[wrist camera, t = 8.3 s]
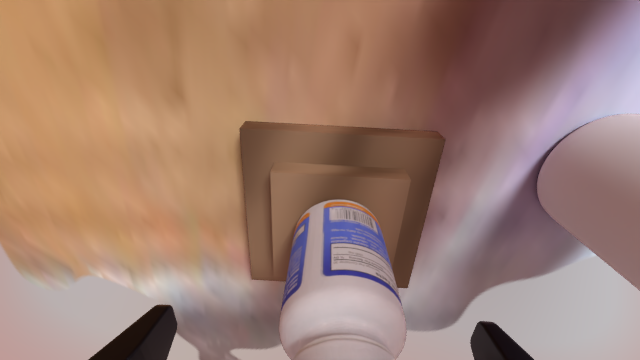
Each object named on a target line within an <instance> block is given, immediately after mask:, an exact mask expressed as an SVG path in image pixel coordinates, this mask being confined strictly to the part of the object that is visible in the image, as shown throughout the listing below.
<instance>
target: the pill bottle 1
mask: <svg viewBox="0 0 640 360" xmlns="http://www.w3.org/2000/svg"><path fill="white" fill-rule="evenodd" d="M279 334H280V339H281V343H282V346H283V348H284V350H285V352H286V353H287V355H288V356H289V357H290V359H291V360H396V358H397V357H398V356H399V354H400V353H401V351H402V349H403V347H404V344H405V340H406V320H405V316H404V312H403V308H402V304H401V300H400V297H399V293H398V289H397V285H396V282H395V278H394V274H393V271H392V267H391V263H390V260H389V256H388V252H387V249H386V245H385V241H384V238H383V234H382V231H381V227H380V225H379V223H378V221H377V219H376V217H375V216H374V215H373V214H372V212H371V211H370V210H368V209H367V208H366V207H364V206H363V205H361V204H359V203H356V202H353V201H349V200H338V199H337V200H329V201H324V202H321V203H319V204H316V205H314V206H313V207H311V208H309V209H308V210H307V211H306V212H305V213H304V214H303V215H302V216H301V218H300V219H299V221H298V223H297V225H296V229H295V232H294V237H293V243H292V249H291V255H290V261H289V267H288V273H287V279H286V284H285V290H284V296H283V302H282V308H281V315H280V323H279Z"/></svg>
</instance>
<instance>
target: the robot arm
mask: <svg viewBox="0 0 640 360" xmlns="http://www.w3.org/2000/svg"><path fill="white" fill-rule="evenodd" d="M176 330H177V321H176V318H175V314H174V311H173V308H172V306H170V305H156V306H154V307H153V308H152V309H150V310H149V311H148V312H147V313H146V314H144V315H143V316H142V317H141V318H139V319H138V320H137V321H136V322H134V323H133V324H132V325H131V326H130V327H128V328H127V329H126V330H125V331H123V332H122V333H121V334H120V335H119V336H117V337H116V338H115V339H113V341H111V342H110V343H109V344H107V345H106V346H105V347H104V348H103V349H101V350H100V351H99V352H97V353H96V354H95V355H94V356H92V357H91V358H90V359H89V360H166V359H167V357H168V354H169V351H170V348H171V345H172V342H173V339H174V336H175V333H176ZM471 349H472V352H473V356H474V360H534V359H533V358H532V357H531V356H530V355H529V354H528V353H527V352H526V351H524V350H523V349H522V348H521V347H520V346H519V345H518V344H517V343H516V342H515V341H514V340H513V339H512V338H511V337H510V336H508V335H507V334H506V333H505V332H504V331H503V330H502V329H501V328H500V327H499V326H498V325H496V324H495V323H493V322H485V321H480V322H478V323H477V325H476V327H475V330H474V332H473V335H472V337H471Z"/></svg>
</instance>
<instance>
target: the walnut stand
mask: <svg viewBox="0 0 640 360" xmlns="http://www.w3.org/2000/svg"><path fill="white" fill-rule="evenodd" d="M240 140H241V153H242V165H243V178H244V190H245V203H246V215H247V227H248V240H249V252H250V265H251V277H252V279H254V280H271V281H286V279H287V273H288V267H289V261H290V255H291V249H292V243H293V237H294V232H295V229H296V225H297V223H298V221H299V219H300V218H301V216H302V215H303V214H304V213H305V212H306V211H307V210H308V209H309V208H311V207H313V206H314V205H316V204H319V203H321V202H324V201H329V200H337V199H338V200H349V201H353V202H356V203H359V204H361V205H363V206H364V207H366V208H367V209H368V210H370V211H371V212H372V214H373V215H374V216H375V217H376V219H377V221H378V223H379V225H380V227H381V231H382V234H383V238H384V241H385V245H386V249H387V252H388V256H389V260H390V263H391V267H392V271H393V274H394V278H395V282H396V285H397V288H408V284H409V280H410V277H411V273H412V269H413V265H414V261H415V257H416V253H417V249H418V245H419V241H420V237H421V233H422V230H423V226H424V222H425V218H426V214H427V210H428V206H429V202H430V198H431V194H432V190H433V187H434V183H435V179H436V175H437V171H438V167H439V163H440V159H441V155H442V151H443V147H444V144H445V139H444V138H443V137H442V136H441V135H440V134H439V133H438V132H434V131H416V130H398V129H379V128H361V127H343V126H324V125H306V124H288V123H269V122H251V121H246V122H245V123H244V124H243V125H242V126H241V127H240Z"/></svg>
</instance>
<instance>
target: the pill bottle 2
mask: <svg viewBox="0 0 640 360" xmlns="http://www.w3.org/2000/svg"><path fill="white" fill-rule="evenodd" d="M537 194H538V198H539V201H540V203H541V205H542V207H543V208H544V210H545V211H546V212H547V213H548V214H549V215H550V216H551V217H552V218H553V219H554V220H555V221H556V222H557V223H558V224H560V225H561V226H562V227H563V228H565V229H566V230H567V231H568V232H569V233H571V234H572V235H573V236H574V237H575V238H577V239H578V240H579V241H580V242H581V243H583V244H584V245H585V246H586V247H588V248H589V249H590V250H591V251H592V252H594V253H595V254H596V255H597V256H598V257H600V258H601V259H602V260H603V261H605V262H606V263H607V264H608V265H609V266H611V267H612V268H613V269H614V270H615V271H617V272H618V273H619V274H620V275H621V276H623V277H624V278H625V279H626V280H628V281H629V282H630V283H631V284H632V285H634V286H635V287H636V288H637V289H638V290H640V114H617V115H612V116H607V117H603V118H600V119H597V120H595V121H592V122H590V123H588V124H586V125H584V126H582V127H580V128H578V129H577V130H575V131H574V132H572V133H571V134H569V135H568V136H567V137H566V138H564V139H563V140H562V141H561V142H560V143H559V144H558V145H557V146H556V147H555V148H554V149H553V150H552V152H551V153H550V154H549V156H548V157H547V159H546V160H545V162H544V164H543V166H542V168H541V170H540V173H539V176H538V180H537Z"/></svg>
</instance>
